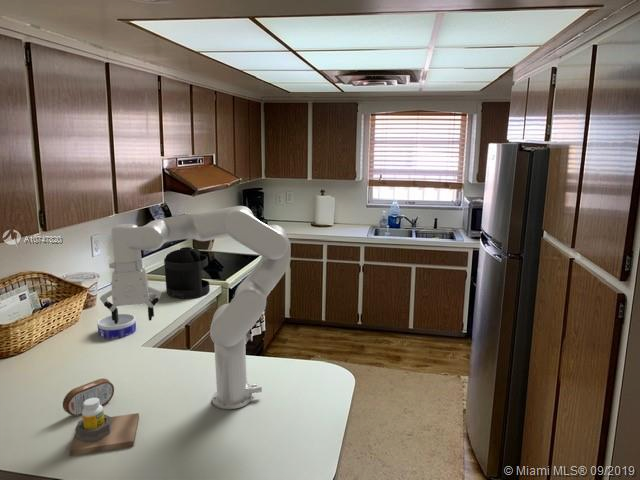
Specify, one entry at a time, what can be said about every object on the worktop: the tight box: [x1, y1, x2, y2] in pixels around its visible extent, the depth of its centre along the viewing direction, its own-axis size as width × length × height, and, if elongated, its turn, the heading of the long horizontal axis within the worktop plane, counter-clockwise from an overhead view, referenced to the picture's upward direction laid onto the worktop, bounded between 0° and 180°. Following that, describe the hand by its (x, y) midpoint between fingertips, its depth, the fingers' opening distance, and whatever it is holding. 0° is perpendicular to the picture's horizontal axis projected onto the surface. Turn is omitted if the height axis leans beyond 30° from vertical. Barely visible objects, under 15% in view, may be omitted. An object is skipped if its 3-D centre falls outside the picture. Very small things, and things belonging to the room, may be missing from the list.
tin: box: [62, 378, 115, 417], centre depth 147 cm, size 15×3×8 cm, turn 141°
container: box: [163, 246, 211, 299], centre depth 258 cm, size 22×23×25 cm
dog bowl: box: [96, 313, 137, 340], centre depth 207 cm, size 15×15×6 cm
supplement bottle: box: [81, 398, 105, 430], centre depth 133 cm, size 5×5×10 cm
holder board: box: [68, 412, 140, 457], centre depth 134 cm, size 16×14×4 cm
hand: (133, 320), depth 144 cm, fingers open, 9 cm apart
